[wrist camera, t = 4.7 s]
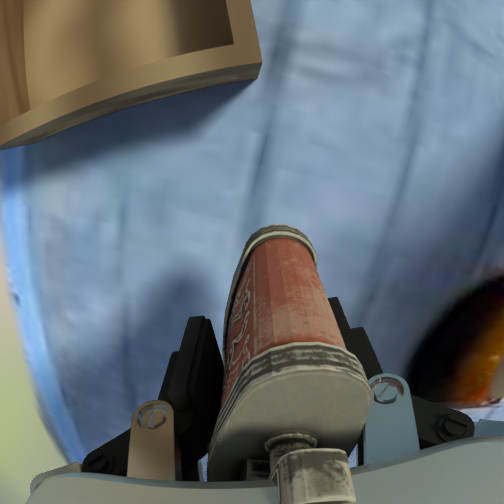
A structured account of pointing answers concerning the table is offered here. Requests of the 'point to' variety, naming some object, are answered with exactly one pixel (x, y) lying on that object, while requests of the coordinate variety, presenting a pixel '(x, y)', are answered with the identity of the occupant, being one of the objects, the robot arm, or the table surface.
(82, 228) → the table surface
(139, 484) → the robot arm
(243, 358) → the lighter
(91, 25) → the walled box
